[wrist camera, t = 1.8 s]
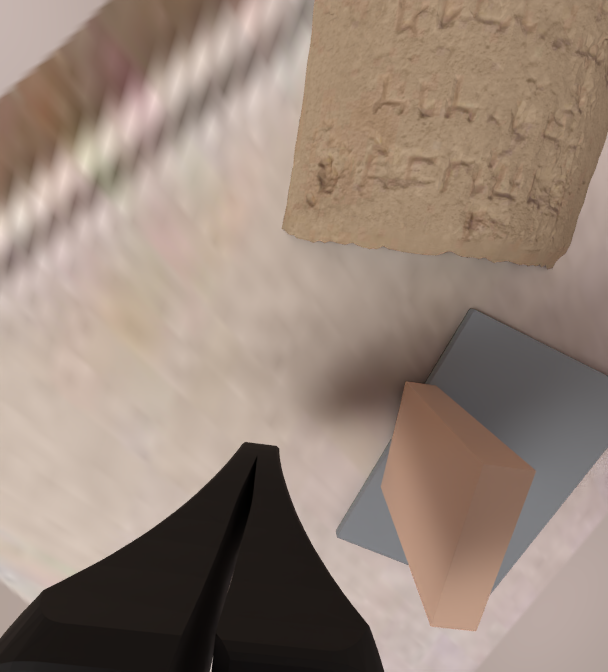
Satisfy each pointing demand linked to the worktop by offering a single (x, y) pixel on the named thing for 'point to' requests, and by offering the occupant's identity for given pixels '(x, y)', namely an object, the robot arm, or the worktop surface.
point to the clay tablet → (451, 125)
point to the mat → (506, 427)
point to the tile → (451, 503)
